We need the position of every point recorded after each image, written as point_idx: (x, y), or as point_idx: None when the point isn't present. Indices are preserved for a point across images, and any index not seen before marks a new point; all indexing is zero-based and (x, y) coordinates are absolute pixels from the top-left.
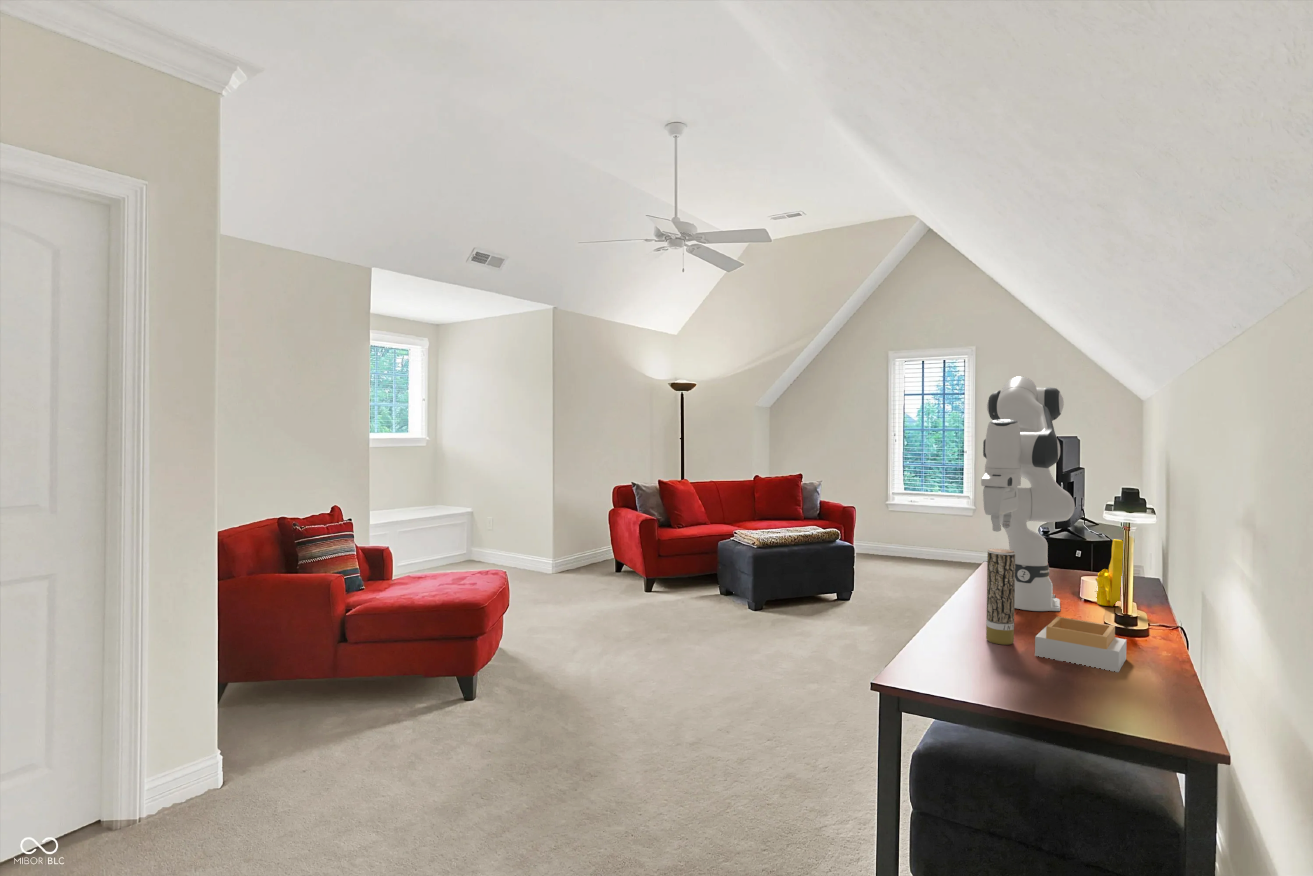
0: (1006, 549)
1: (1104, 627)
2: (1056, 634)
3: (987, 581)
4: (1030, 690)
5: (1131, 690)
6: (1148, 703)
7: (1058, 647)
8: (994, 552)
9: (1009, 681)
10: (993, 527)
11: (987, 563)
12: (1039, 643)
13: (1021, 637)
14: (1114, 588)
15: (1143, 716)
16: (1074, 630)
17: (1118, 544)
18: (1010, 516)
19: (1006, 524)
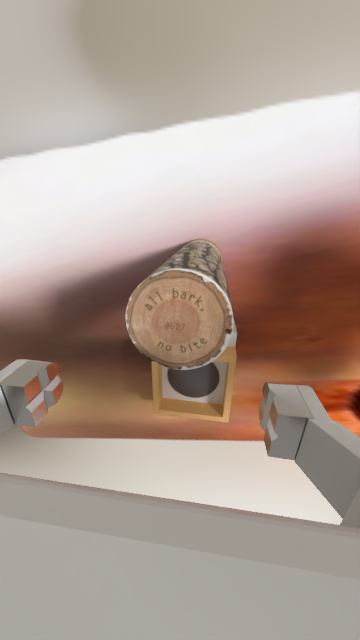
0: (226, 335)
1: (223, 409)
2: None
3: (173, 255)
4: (32, 329)
5: (112, 401)
6: (87, 410)
7: None
8: (128, 306)
9: (39, 307)
10: (3, 374)
11: (167, 262)
12: None
13: (252, 283)
14: None
15: (52, 406)
16: (226, 369)
17: None
18: (344, 512)
19: (268, 420)
